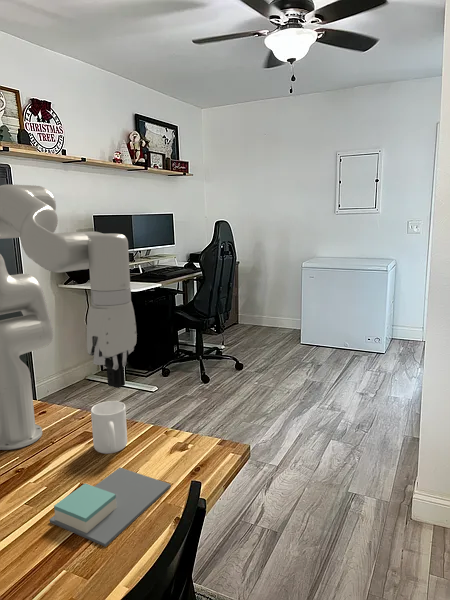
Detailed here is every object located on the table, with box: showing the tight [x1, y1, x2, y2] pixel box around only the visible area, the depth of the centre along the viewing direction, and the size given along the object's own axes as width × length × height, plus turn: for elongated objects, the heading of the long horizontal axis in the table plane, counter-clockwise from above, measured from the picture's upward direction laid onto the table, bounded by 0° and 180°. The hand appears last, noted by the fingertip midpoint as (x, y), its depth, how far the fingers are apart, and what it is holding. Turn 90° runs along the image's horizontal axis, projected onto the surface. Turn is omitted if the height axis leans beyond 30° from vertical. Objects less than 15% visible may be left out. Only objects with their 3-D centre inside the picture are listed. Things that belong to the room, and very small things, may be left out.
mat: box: [49, 467, 172, 547], centre depth 92 cm, size 14×20×1 cm
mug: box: [90, 400, 128, 455], centre depth 112 cm, size 12×8×10 cm
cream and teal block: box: [53, 482, 116, 533], centre depth 88 cm, size 8×3×8 cm
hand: (116, 385), depth 93 cm, fingers closed
